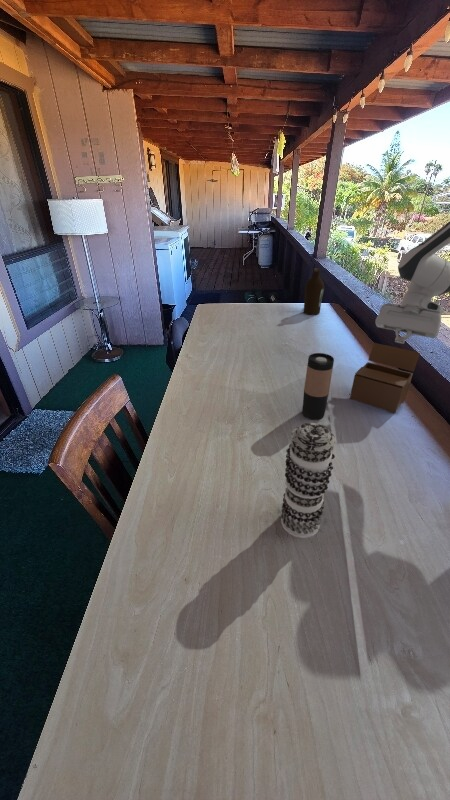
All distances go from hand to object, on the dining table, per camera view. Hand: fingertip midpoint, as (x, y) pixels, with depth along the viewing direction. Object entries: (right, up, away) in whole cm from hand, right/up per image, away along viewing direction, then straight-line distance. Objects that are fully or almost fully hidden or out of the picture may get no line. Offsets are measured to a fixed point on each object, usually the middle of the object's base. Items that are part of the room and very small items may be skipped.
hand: (399, 342), depth 120 cm
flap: (-3, -5, -1) cm, 6 cm away
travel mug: (-31, -24, -5) cm, 40 cm away
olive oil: (-8, +32, +89) cm, 95 cm away
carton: (-7, -20, +1) cm, 21 cm away
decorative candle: (-43, -47, -42) cm, 77 cm away
